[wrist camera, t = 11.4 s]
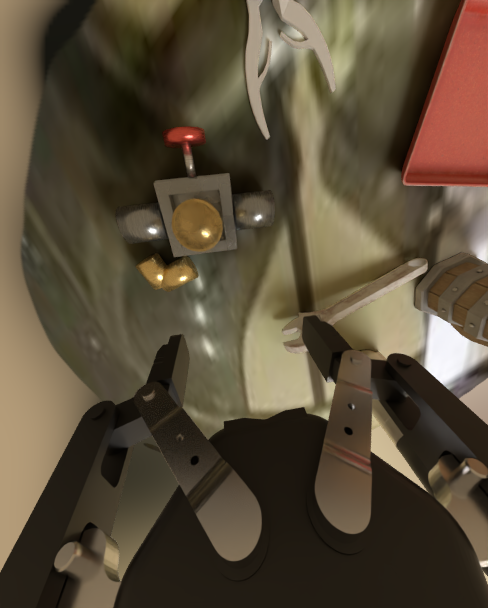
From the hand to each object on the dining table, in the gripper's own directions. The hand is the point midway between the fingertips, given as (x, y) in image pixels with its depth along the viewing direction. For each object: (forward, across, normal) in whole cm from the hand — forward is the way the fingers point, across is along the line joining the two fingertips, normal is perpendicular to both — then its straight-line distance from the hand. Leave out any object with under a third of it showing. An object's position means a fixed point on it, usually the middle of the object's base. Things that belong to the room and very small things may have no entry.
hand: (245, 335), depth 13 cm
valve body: (+21, +3, -8) cm, 22 cm away
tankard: (+22, -45, +16) cm, 53 cm away
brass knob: (+19, +3, -6) cm, 20 cm away
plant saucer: (+22, -35, -15) cm, 44 cm away
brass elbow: (+19, +7, +3) cm, 21 cm away
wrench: (+22, -22, +11) cm, 33 cm away
